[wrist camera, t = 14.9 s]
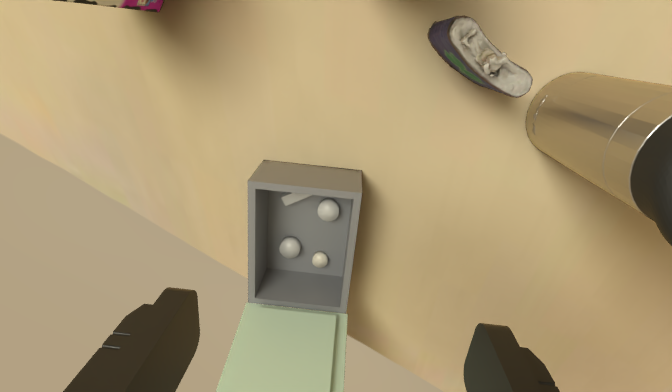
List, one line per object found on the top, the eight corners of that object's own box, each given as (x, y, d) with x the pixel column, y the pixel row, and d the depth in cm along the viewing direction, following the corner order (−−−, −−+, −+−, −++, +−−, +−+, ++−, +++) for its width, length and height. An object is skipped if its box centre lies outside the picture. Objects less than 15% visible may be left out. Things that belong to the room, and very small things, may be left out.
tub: (361, 170, 45) (362, 193, 38) (347, 278, 51) (346, 313, 44) (263, 159, 45) (247, 180, 38) (262, 268, 51) (248, 302, 45)
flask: (502, 72, 39) (550, 84, 29) (482, 94, 40) (521, 113, 30) (439, 14, 37) (467, 6, 28) (419, 38, 38) (440, 39, 29)
